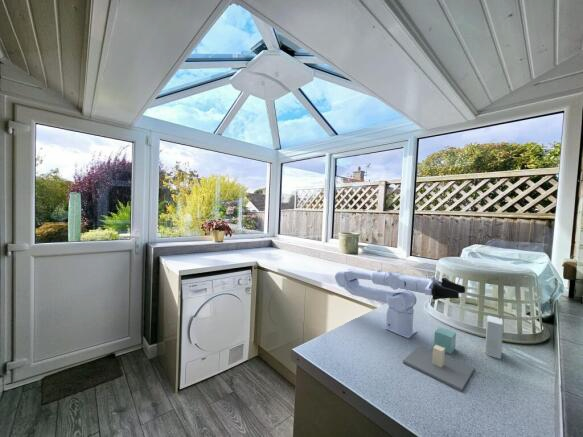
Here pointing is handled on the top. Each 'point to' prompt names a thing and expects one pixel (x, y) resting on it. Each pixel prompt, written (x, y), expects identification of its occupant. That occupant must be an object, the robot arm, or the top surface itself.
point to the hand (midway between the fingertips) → (461, 292)
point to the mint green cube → (445, 339)
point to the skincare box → (494, 336)
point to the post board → (441, 374)
